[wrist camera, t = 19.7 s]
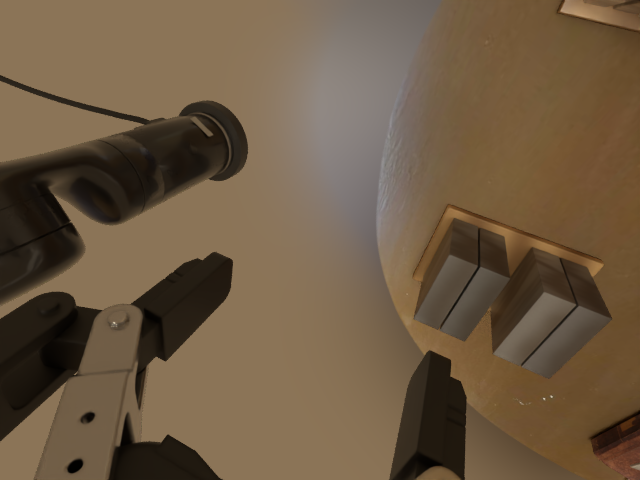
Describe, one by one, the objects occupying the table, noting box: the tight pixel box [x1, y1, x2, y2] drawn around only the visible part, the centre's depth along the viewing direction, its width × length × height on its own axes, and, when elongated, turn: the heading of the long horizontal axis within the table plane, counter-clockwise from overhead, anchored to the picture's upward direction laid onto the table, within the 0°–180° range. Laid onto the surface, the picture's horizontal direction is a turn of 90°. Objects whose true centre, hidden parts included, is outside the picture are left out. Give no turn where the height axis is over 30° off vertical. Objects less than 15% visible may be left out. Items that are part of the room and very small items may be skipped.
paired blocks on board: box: [413, 204, 612, 379], centre depth 40 cm, size 18×12×10 cm, turn 77°
